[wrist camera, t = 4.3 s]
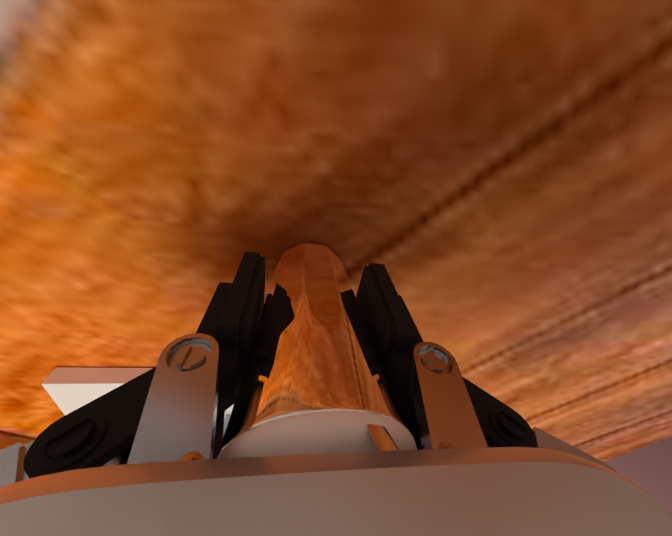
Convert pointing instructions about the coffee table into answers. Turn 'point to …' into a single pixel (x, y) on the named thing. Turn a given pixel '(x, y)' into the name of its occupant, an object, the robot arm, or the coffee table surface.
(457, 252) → the coffee table surface
